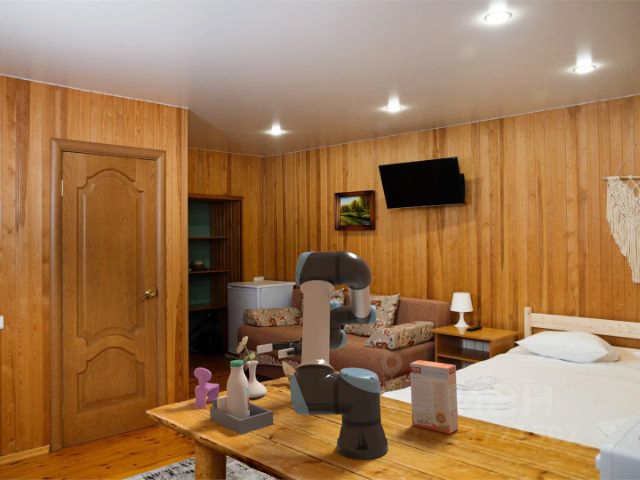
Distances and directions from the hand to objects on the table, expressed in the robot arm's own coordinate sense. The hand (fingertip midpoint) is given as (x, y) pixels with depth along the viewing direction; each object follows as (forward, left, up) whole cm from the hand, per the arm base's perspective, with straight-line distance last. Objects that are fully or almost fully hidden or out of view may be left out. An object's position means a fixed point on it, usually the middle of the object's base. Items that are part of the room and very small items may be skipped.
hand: (267, 352), depth 194 cm
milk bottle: (+1, +12, -21) cm, 25 cm away
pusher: (+6, +13, -21) cm, 25 cm away
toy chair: (+26, +12, -22) cm, 37 cm away
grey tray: (-1, +13, -22) cm, 26 cm away
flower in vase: (+22, -6, -22) cm, 32 cm away
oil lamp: (+18, -29, -23) cm, 41 cm away
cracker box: (-52, -29, -22) cm, 64 cm away
